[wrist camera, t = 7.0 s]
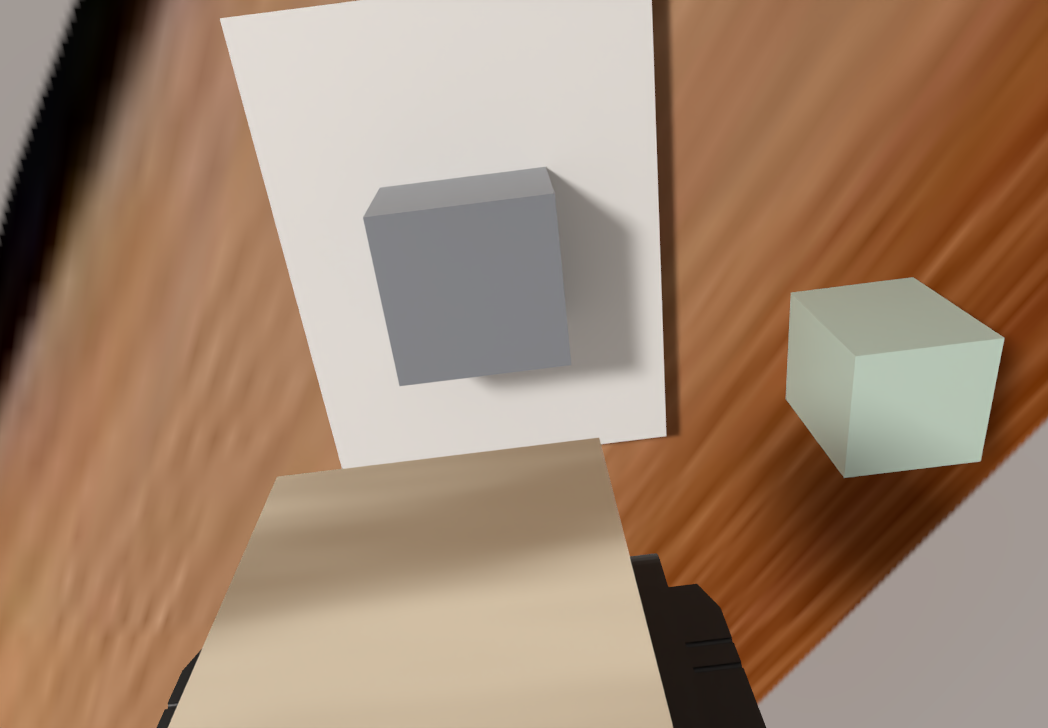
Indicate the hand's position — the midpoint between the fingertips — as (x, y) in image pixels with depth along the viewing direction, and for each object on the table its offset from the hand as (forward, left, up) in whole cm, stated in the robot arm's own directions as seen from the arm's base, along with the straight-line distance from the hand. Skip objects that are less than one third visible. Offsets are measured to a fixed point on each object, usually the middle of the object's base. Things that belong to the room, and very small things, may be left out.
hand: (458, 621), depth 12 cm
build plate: (0, 0, -19) cm, 19 cm away
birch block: (0, 0, -1) cm, 1 cm away
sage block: (+6, +15, -19) cm, 25 cm away
